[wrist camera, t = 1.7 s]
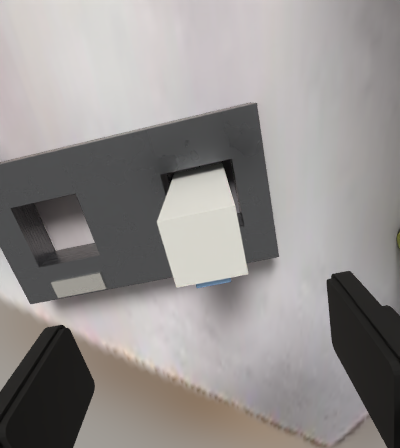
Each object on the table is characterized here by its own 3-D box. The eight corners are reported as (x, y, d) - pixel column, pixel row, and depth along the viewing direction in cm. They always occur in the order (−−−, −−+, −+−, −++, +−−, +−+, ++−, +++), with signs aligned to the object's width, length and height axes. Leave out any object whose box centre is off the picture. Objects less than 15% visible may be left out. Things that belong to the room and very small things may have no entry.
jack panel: (250, 102, 23) (257, 103, 20) (271, 241, 28) (279, 257, 25) (-13, 165, 25) (-41, 173, 22) (46, 285, 30) (29, 305, 27)
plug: (221, 162, 25) (235, 205, 15) (232, 213, 27) (250, 283, 17) (174, 172, 26) (156, 222, 15) (187, 222, 27) (179, 296, 17)
